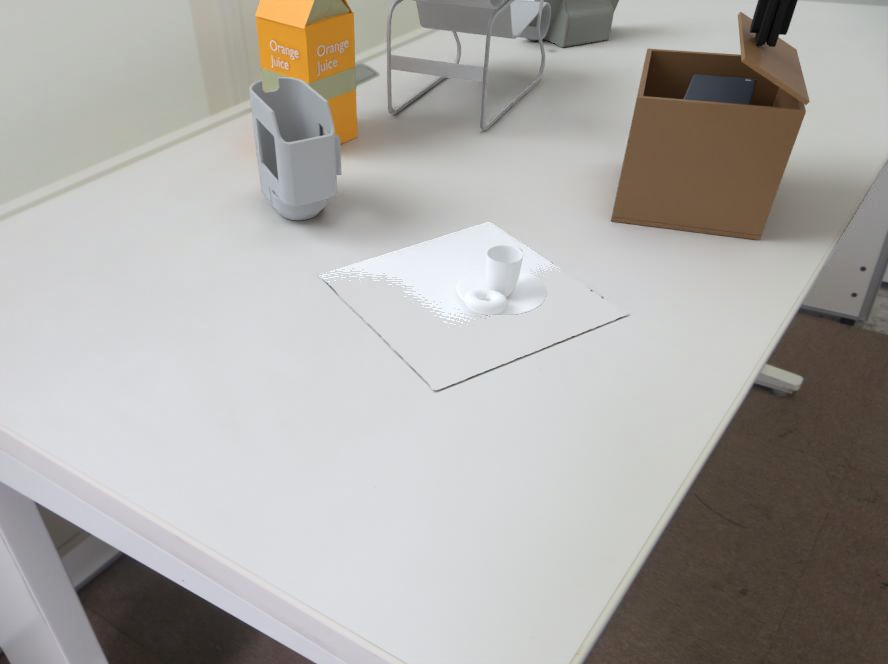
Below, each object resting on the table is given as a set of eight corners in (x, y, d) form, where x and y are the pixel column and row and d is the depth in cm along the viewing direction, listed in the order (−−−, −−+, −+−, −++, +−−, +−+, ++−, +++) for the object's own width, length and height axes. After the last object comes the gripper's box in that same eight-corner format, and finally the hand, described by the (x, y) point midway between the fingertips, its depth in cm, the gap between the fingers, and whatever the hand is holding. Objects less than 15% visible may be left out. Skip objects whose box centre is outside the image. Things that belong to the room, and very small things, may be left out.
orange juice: (311, 120, 101) (300, -52, 88) (358, 136, 96) (353, -43, 83) (266, 137, 97) (247, -40, 84) (313, 156, 92) (300, -29, 79)
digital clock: (607, 26, 129) (620, -45, 122) (631, 41, 122) (645, -33, 115) (515, 34, 127) (523, -38, 120) (534, 50, 120) (543, -25, 113)
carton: (753, 176, 84) (793, 57, 76) (759, 240, 74) (806, 111, 66) (623, 162, 88) (647, 48, 80) (610, 221, 78) (637, 97, 69)
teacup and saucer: (484, 332, 64) (488, 291, 61) (431, 289, 69) (433, 249, 66) (565, 302, 67) (572, 261, 64) (508, 262, 72) (513, 223, 69)
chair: (385, 120, 100) (384, -50, 87) (460, 64, 116) (469, -87, 103) (479, 137, 95) (494, -42, 82) (545, 75, 111) (565, -82, 98)
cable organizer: (289, 237, 77) (278, 120, 69) (252, 189, 86) (238, 80, 78) (349, 223, 79) (345, 107, 71) (307, 177, 88) (299, 69, 80)
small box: (667, 167, 86) (692, 70, 79) (729, 176, 83) (760, 77, 76) (651, 207, 78) (677, 105, 72) (718, 219, 76) (751, 114, 69)
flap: (793, 53, 76) (796, 49, 75) (806, 105, 65) (810, 101, 65) (737, 15, 75) (740, 11, 75) (741, 61, 65) (744, 57, 65)
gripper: (947, -221, 58) (850, 35, 70) (736, -216, 62) (679, 26, 74) (970, -215, 53) (861, 61, 65) (738, -210, 57) (677, 48, 69)
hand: (764, 41), depth 70 cm, fingers closed
